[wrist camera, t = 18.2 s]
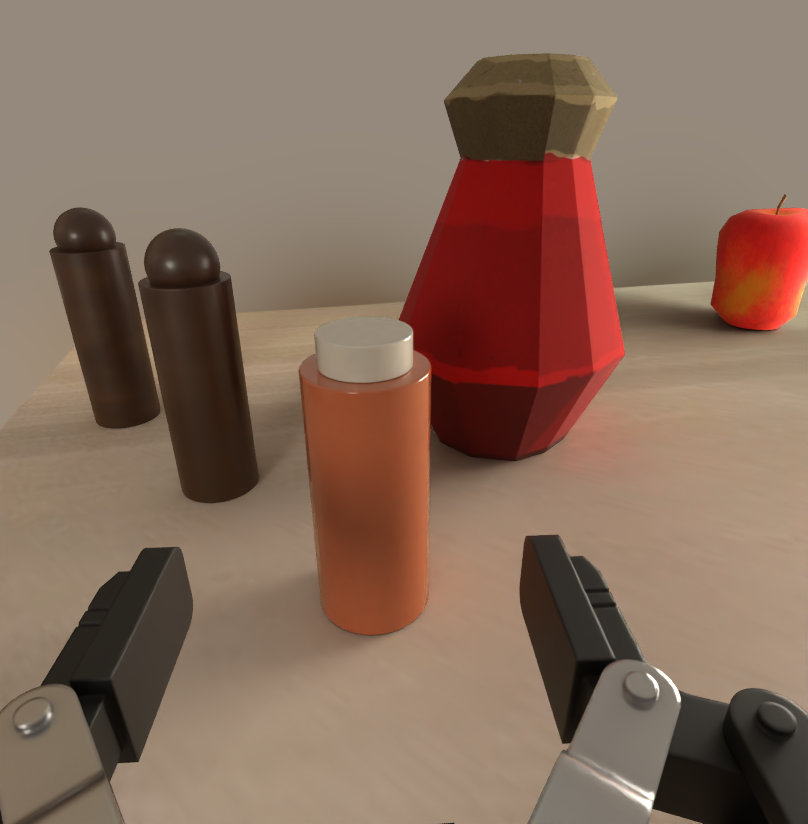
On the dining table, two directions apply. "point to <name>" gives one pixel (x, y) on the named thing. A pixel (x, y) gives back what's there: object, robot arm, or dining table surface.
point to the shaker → (369, 471)
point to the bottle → (518, 260)
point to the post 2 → (199, 365)
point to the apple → (761, 267)
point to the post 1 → (104, 319)
